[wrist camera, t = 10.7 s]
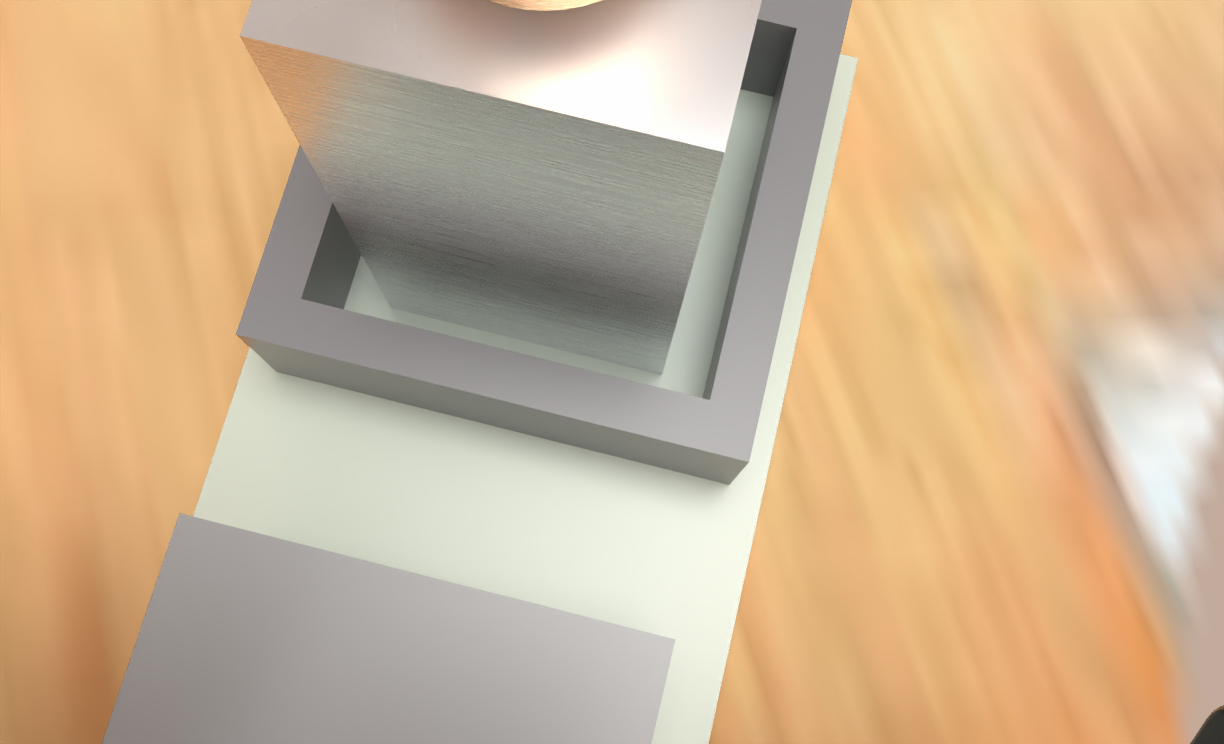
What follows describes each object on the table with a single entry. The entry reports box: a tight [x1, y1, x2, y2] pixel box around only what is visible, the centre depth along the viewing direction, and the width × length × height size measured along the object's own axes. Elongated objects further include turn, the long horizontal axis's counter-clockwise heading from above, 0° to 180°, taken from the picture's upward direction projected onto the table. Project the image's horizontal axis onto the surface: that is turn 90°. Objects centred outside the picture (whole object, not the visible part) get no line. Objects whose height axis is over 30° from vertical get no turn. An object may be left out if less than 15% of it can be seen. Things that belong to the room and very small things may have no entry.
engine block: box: [240, 0, 762, 375], centre depth 15 cm, size 5×5×12 cm
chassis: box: [102, 0, 858, 744], centre depth 19 cm, size 17×9×6 cm, turn 166°
